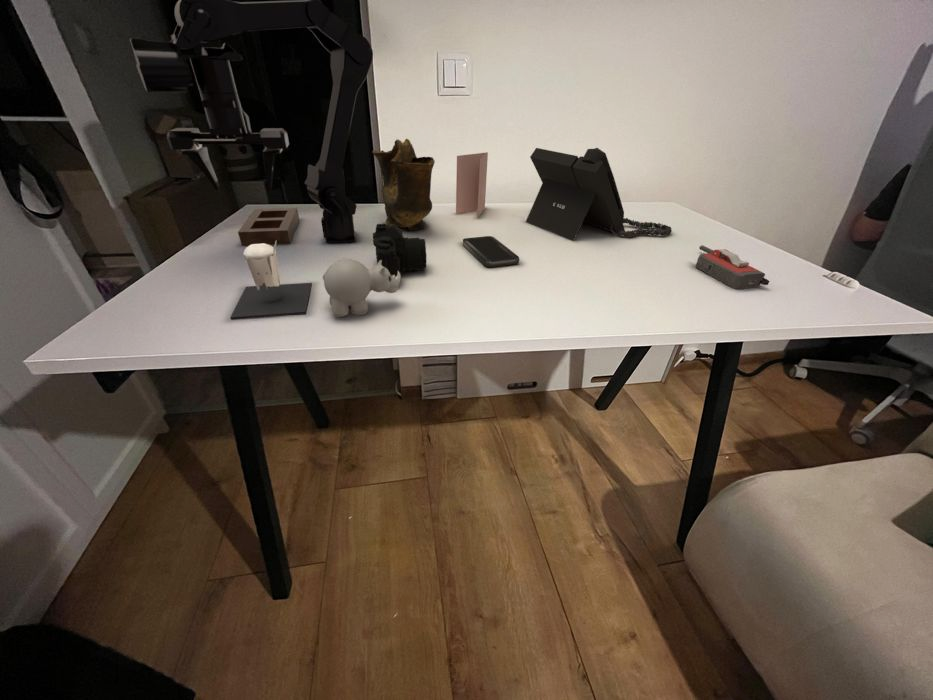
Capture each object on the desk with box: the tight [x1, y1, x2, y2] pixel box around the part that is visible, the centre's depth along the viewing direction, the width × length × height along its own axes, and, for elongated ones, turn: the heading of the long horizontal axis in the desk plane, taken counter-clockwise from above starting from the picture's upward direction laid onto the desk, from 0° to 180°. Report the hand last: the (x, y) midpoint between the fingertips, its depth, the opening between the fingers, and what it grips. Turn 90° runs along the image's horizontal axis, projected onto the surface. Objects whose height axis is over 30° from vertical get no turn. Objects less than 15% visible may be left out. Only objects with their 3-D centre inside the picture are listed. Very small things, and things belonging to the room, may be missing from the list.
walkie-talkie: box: [695, 245, 770, 290], centre depth 84 cm, size 9×4×20 cm
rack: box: [237, 207, 300, 246], centre depth 95 cm, size 10×18×3 cm, turn 13°
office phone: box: [525, 147, 672, 242], centre depth 102 cm, size 29×28×20 cm
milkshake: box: [243, 240, 282, 302], centre depth 64 cm, size 5×5×10 cm
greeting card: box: [455, 152, 489, 219], centre depth 110 cm, size 11×7×15 cm, turn 133°
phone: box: [462, 235, 520, 268], centre depth 88 cm, size 8×1×15 cm
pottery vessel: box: [372, 137, 436, 232], centre depth 97 cm, size 25×11×20 cm, turn 24°
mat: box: [229, 282, 313, 320], centre depth 67 cm, size 11×11×1 cm
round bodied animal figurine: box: [322, 258, 402, 318], centre depth 64 cm, size 7×12×8 cm, turn 109°
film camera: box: [372, 223, 427, 277], centre depth 77 cm, size 15×10×9 cm, turn 9°
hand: (244, 188), depth 77 cm, fingers open, 9 cm apart
